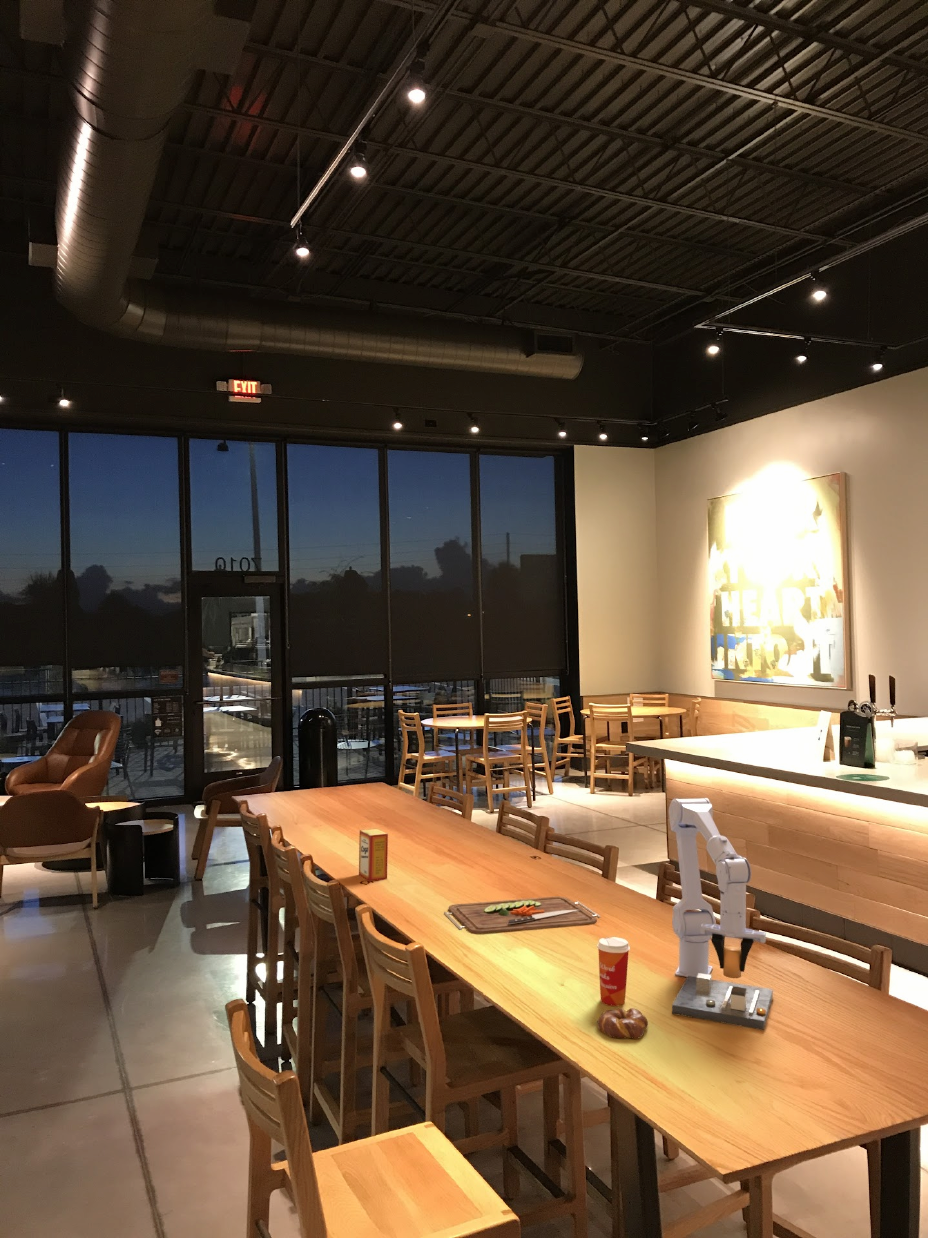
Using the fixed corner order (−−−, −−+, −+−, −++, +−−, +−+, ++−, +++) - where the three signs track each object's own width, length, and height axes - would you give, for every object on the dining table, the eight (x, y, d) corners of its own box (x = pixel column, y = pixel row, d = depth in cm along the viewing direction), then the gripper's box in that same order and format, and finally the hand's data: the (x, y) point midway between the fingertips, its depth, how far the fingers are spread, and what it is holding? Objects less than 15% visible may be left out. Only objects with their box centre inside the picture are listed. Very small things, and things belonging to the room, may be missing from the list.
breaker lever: (732, 1004, 213) (732, 986, 213) (746, 1006, 212) (746, 988, 212) (730, 1008, 210) (731, 990, 210) (744, 1011, 209) (744, 993, 209)
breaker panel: (687, 983, 230) (688, 963, 230) (772, 997, 222) (772, 976, 222) (672, 1013, 212) (672, 991, 212) (763, 1030, 204) (764, 1007, 204)
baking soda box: (358, 875, 328) (359, 829, 328) (375, 872, 331) (376, 827, 331) (369, 881, 319) (370, 834, 320) (387, 879, 323) (387, 832, 323)
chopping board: (571, 899, 303) (571, 890, 303) (608, 924, 278) (608, 914, 278) (438, 910, 290) (438, 900, 290) (465, 937, 264) (465, 926, 264)
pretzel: (615, 1015, 212) (615, 998, 212) (658, 1028, 205) (658, 1011, 205) (586, 1031, 203) (587, 1014, 203) (630, 1046, 196) (631, 1028, 196)
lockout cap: (724, 971, 220) (724, 945, 220) (742, 973, 218) (742, 948, 218) (722, 976, 216) (722, 950, 216) (739, 979, 215) (740, 953, 215)
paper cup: (590, 997, 221) (591, 938, 221) (618, 993, 223) (619, 935, 224) (606, 1010, 213) (607, 948, 214) (635, 1006, 216) (636, 945, 216)
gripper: (698, 910, 217) (697, 969, 217) (763, 919, 211) (762, 979, 211) (703, 903, 223) (703, 960, 223) (766, 911, 217) (766, 969, 217)
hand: (732, 969), depth 217 cm, fingers closed on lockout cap, 4 cm apart
